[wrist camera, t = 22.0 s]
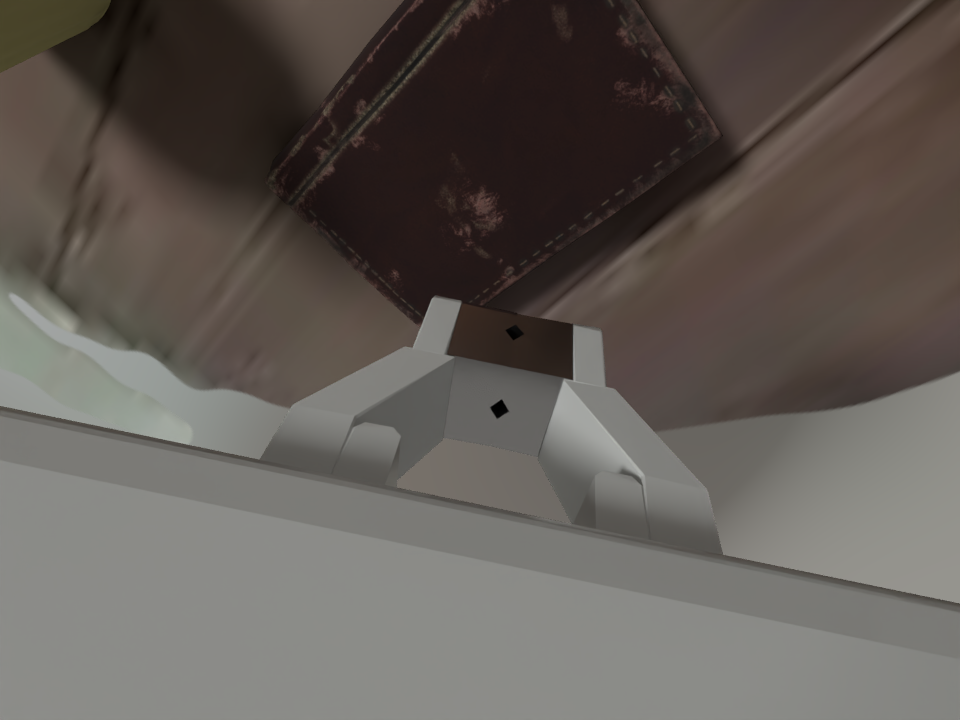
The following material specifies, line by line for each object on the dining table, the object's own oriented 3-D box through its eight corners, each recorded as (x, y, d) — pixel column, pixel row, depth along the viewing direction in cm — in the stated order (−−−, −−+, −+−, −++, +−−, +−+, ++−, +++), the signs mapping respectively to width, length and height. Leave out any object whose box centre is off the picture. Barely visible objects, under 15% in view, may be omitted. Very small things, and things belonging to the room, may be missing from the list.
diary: (284, 155, 41) (253, 178, 37) (536, -154, 29) (529, -168, 25) (452, 317, 48) (440, 350, 44) (714, 125, 36) (730, 147, 32)
